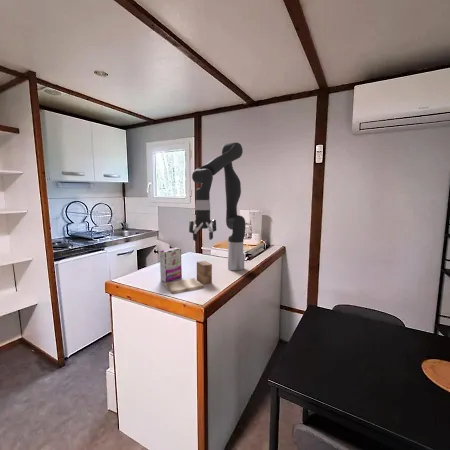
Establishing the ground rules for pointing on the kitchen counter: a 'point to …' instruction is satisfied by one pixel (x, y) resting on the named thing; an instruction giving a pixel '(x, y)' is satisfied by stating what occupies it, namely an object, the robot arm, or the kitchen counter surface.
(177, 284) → the birch board
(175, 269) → the candy bar box
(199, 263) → the walnut block
